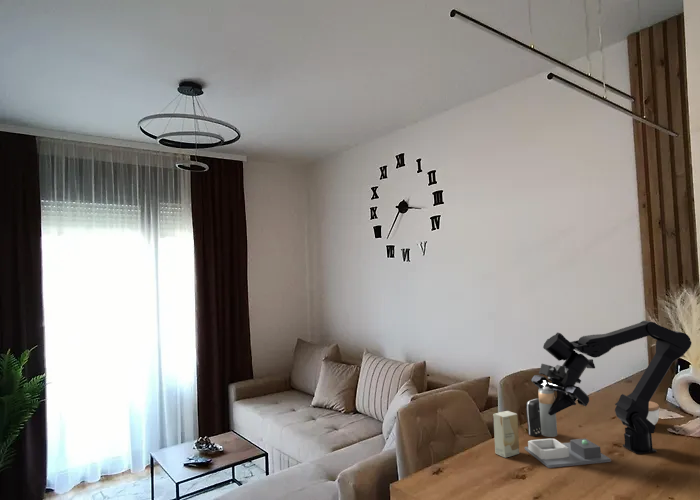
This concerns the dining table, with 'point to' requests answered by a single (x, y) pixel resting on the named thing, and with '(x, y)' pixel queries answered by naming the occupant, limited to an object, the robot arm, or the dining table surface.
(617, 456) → the dining table surface
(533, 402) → the battery charger
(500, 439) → the skincare box
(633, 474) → the dining table surface
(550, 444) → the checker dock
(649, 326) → the robot arm
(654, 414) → the lidded jar
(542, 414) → the big cell
